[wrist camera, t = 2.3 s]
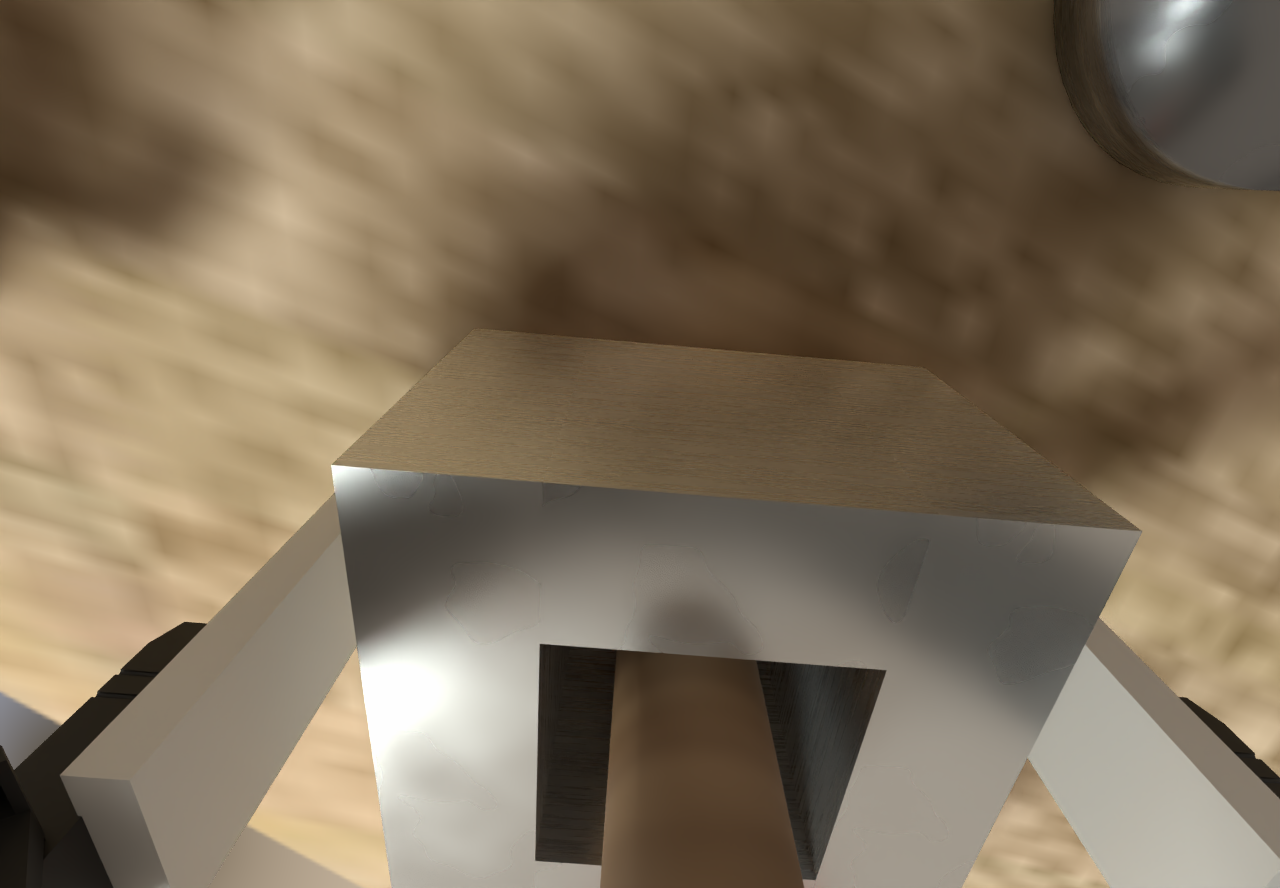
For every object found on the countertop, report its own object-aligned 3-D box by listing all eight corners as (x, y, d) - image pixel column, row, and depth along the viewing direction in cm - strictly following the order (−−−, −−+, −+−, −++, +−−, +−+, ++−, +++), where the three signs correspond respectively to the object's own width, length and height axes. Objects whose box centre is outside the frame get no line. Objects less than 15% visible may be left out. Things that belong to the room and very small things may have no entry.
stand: (510, 341, 13) (248, 681, 5) (876, 373, 13) (1287, 757, 5) (512, 629, 17) (361, 1136, 8) (804, 651, 17) (968, 1172, 8)
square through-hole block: (474, 328, 12) (331, 465, 7) (924, 367, 12) (1141, 530, 7) (484, 669, 16) (398, 934, 10) (828, 695, 16) (919, 969, 11)
